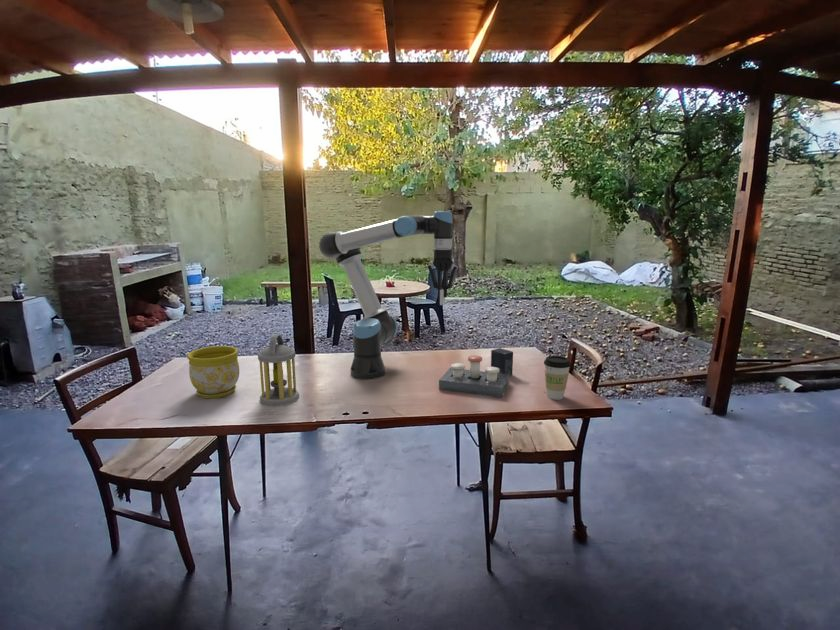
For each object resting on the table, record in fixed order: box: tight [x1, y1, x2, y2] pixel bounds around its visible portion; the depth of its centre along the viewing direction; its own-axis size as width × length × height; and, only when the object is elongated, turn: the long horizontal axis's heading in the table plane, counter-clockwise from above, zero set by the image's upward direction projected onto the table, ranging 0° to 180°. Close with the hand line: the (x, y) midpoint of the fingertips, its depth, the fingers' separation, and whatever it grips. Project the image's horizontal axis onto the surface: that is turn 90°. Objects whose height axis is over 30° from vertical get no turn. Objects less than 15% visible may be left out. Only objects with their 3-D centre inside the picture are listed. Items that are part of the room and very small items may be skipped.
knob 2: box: [484, 366, 499, 382], centre depth 188 cm, size 6×6×8 cm
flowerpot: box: [186, 345, 240, 399], centre depth 183 cm, size 18×18×16 cm
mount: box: [438, 367, 510, 398], centre depth 191 cm, size 25×16×4 cm, turn 70°
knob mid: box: [467, 355, 483, 378], centre depth 189 cm, size 6×6×8 cm
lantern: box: [257, 333, 300, 407], centre depth 176 cm, size 14×14×25 cm
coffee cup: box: [543, 355, 572, 401], centre depth 179 cm, size 10×10×15 cm
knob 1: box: [450, 362, 466, 378], centre depth 193 cm, size 6×6×8 cm
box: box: [490, 347, 514, 377], centre depth 205 cm, size 8×6×11 cm
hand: (442, 304), depth 202 cm, fingers closed
